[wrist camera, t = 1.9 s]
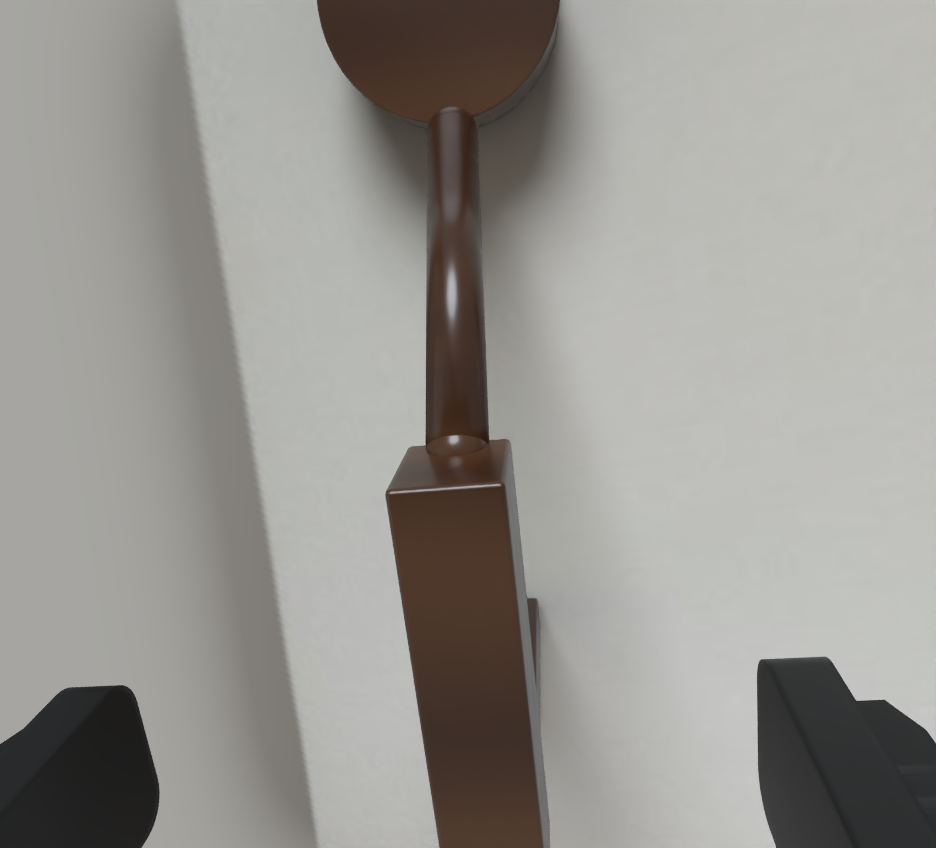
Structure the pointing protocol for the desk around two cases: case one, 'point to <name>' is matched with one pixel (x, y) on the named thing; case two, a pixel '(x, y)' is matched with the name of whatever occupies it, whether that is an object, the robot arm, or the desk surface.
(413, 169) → the desk surface
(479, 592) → the brown disc on stem
